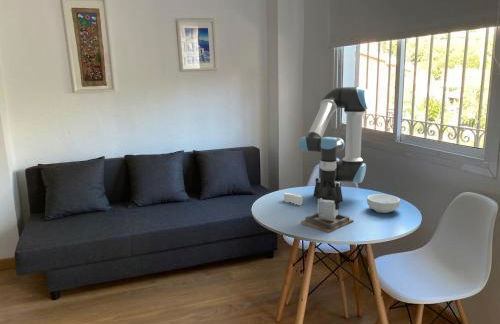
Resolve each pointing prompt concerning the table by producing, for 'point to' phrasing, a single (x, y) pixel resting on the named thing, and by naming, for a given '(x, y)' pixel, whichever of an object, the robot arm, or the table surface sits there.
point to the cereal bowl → (383, 203)
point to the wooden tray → (326, 222)
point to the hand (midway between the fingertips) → (327, 213)
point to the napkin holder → (293, 198)
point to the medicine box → (326, 209)
